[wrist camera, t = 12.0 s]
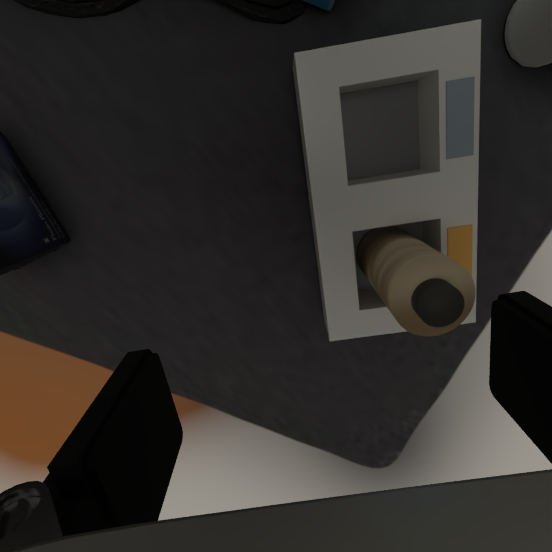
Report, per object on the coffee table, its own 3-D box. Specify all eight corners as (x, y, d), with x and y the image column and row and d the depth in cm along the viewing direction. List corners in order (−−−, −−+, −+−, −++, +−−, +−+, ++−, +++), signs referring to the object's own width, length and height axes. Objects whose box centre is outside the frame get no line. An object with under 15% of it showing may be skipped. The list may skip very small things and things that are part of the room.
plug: (353, 230, 32) (394, 271, 20) (411, 220, 32) (486, 257, 20) (358, 283, 34) (399, 351, 22) (414, 275, 33) (485, 339, 22)
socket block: (292, 69, 29) (294, 52, 24) (450, 40, 28) (485, 17, 23) (323, 316, 36) (329, 342, 31) (451, 298, 35) (479, 323, 30)
